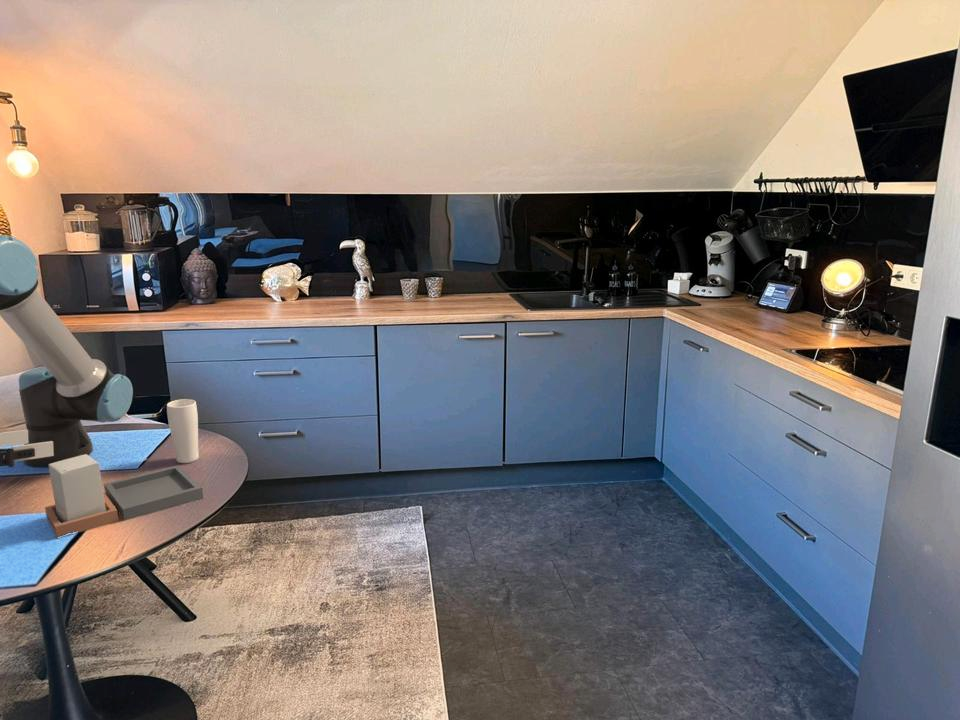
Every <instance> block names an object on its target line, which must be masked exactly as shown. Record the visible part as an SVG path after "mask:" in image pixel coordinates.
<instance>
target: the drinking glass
mask: <svg viewBox="0 0 960 720" xmlns="http://www.w3.org/2000/svg"><path fill="white" fill-rule="evenodd" d="M166 415H167V420H168V421H167V422H168V427H169V431H170V434H171V439H172V444H173V449H174V454H175V460H176V462H178V463H179V464H190V463H193V462H195V461H197V460H199V457H200V453H199V416H198V406H197V401H196V400H194V399H190V398H189V399H188V398H182V399H181V398H180V399H175V400H172V401H169V402H168V403H167V404H166Z"/></svg>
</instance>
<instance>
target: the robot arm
mask: <svg viewBox="0 0 960 720" xmlns="http://www.w3.org/2000/svg"><path fill="white" fill-rule="evenodd" d="M38 265H39V263H38V260H37V257H36V255H35V253H34V252H33V250H32V249H31V248H30V247H29V246H28V245H27V244H26V243H25V242H23V241H22V240H20V239H18V238H17V237H14V236H10V235H2V234H0V318H1V319H3V321H4V322H5V323H6V324H7V325H8V327H9V328H10V329H11V330H12V332H14V333H15V334H16V336H17V337H18V338H19V339H20V340H21V342H23V343H24V344H25V346H26V347H27V348H28V350H30V351H31V353H33V355H34V356H35V357H36V358H37V359H38V361H39V362H40V363H41V364H42V365H43V366H39V367H36V368H32V369H29V370H26V371H24V372H23V373H21V374H20V375H19V377H18V385H19V387H18V391H19V397H20V401H21V406H22V411H23V415H24V421H25V422H24V423H25V427H26V429H20V430H13V431H2V432H0V467H8V468H14V467H15V462H22V461H23V463H24V464H25V465H27V466H30V467H39V468H41V467H49V464H51V463H55V462H58V461H62V460H66V459H69V458H73V457H77V456H81V455H85V454H87V455H88V456H89V455H91V453H92V452H93V450H94V449H93V448H94V447H93V442H92V439H91V437H90V436H89V434H88V432H87V430H86V429H85V427H84V425H83V424H82V421H88V422H99V423H103V424H104V423H114V422H117V421H120V420H121V419H122V418H123V417H124V416H125V415H126V414H127V412H128V411H130V410H129V409H130V407H131V404H132V401H133V395H134V389H133V384H132V382H131V380H130V379H129V378H128V377H127V376H126V375H123V374H120V373H116V374H114V373H112V372H111V370H110V369H109V368H108V366H107V365H106V364H105V363H104V362H103V361H102V360H100V359H96V358H91V356H90V355H89V354H88V352H87V351H86V350H85V349H84V347H83V346H82V345H81V343H79V341H78V339H77V338H76V337H75V336H74V335H73V334H72V332H71V331H70V330H69V328H68V327H67V325H65V323H64V322H63V321H62V319H61V318H60V317H59V315H57V314H56V312H55V311H54V309H52V307H51V306H50V304H49V303H48V302H47V301H46V300H45V298H44V297H43V296H42V294H41V293H40V292H39V291H38V287H39V286H40V281H39V273H40V270H39V268H37V266H38ZM3 447H4V448H3ZM5 447H9V448H5Z"/></svg>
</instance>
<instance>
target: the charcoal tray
mask: <svg viewBox="0 0 960 720" xmlns="http://www.w3.org/2000/svg"><path fill="white" fill-rule="evenodd" d="M103 486H104V493H105V494H106V496H107V497H108V498H109V500H110V501H111V502H112V504H113V505H114V506H115V508H116V509H117V513H118V514H119V513H120V514H119V515H120V517H122V519H123V520H124V521H127V519H128V520H131V519H135V518H139V517H141V516H146V515H148V514H153V513H156V512H159V511H162V509H163V510H166V509H169V507H170V508H173V507H176V506H180V505H183V504H188V503H190V502H194V501H198V500H200V498H201V499H204V493H203V491H204V490H203V487H202V486H201V485H200V484H199V483H197V480H196V479H194V478H193V477H192V476H191V475H190V474H189V473H188V472H187V471H185V470H184V469H183V468H182V467H181V465H179V464H178V465H174V466H170V467H165V468H162V469H161V468H160V469H158V470H153V471H149V472H146V473H141V474H138V475H134V476H130V477H126V478H122V479H117V480H113V481H110V482H106V483H103ZM197 499H198V500H197ZM193 500H194V501H193ZM165 508H166V509H165ZM158 510H159V511H158ZM155 511H156V512H155Z"/></svg>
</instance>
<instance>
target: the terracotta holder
mask: <svg viewBox="0 0 960 720" xmlns="http://www.w3.org/2000/svg"><path fill="white" fill-rule="evenodd" d="M103 494H104V501H105V507H106V511H104V512H100V513H97V514H93V515H89V516H86V517H82V518H78V519H75V520H71V521H67V522H64V523H60V522H59V521H58V519H57V513H56V506H55V504H51V505H48V506H44V508H45V509H44V510H45V517H46V519H47V521H48V524H49V525H50V527H51V529H52V531H53V530H54V531H53V533H54V532H55V533H54V535H55V534H56V535H55V538H56V539H59V538H58V537H60V536H63V535H66V534H68V533H73V532H77V531H78V532H79V533H82V532H84V531H88V530H89V531H90V530H92V529H96V528H100V527H103V526H107V525H110V524H114V523H117V522H119V512H118V511H117V509H116V508H115V507H114V505H113V504H112V502H111V501H110V500H109V498H108V497H107V496H106V494H105V491H103ZM113 522H114V523H113ZM109 523H110V524H109Z"/></svg>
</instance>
